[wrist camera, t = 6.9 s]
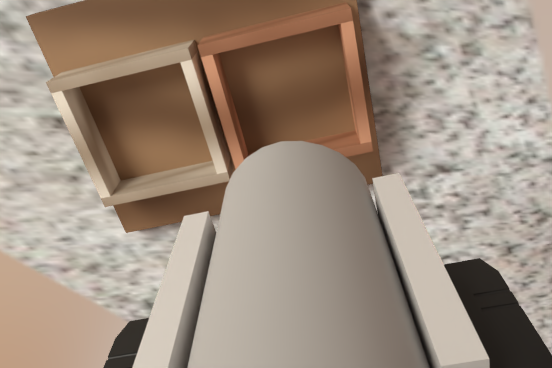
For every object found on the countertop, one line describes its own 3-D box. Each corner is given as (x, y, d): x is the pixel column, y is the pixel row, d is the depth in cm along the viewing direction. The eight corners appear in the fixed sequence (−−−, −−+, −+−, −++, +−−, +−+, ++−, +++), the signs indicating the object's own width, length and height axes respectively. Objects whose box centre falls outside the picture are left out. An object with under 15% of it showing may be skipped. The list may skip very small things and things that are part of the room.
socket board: (34, 13, 26) (6, 23, 23) (344, -69, 24) (352, -68, 21) (130, 224, 32) (116, 250, 30) (380, 174, 30) (389, 197, 28)
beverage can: (207, 149, 15) (43, 641, 5) (356, 117, 15) (549, 593, 4) (245, 266, 17) (192, 780, 7) (376, 242, 17) (536, 762, 6)
